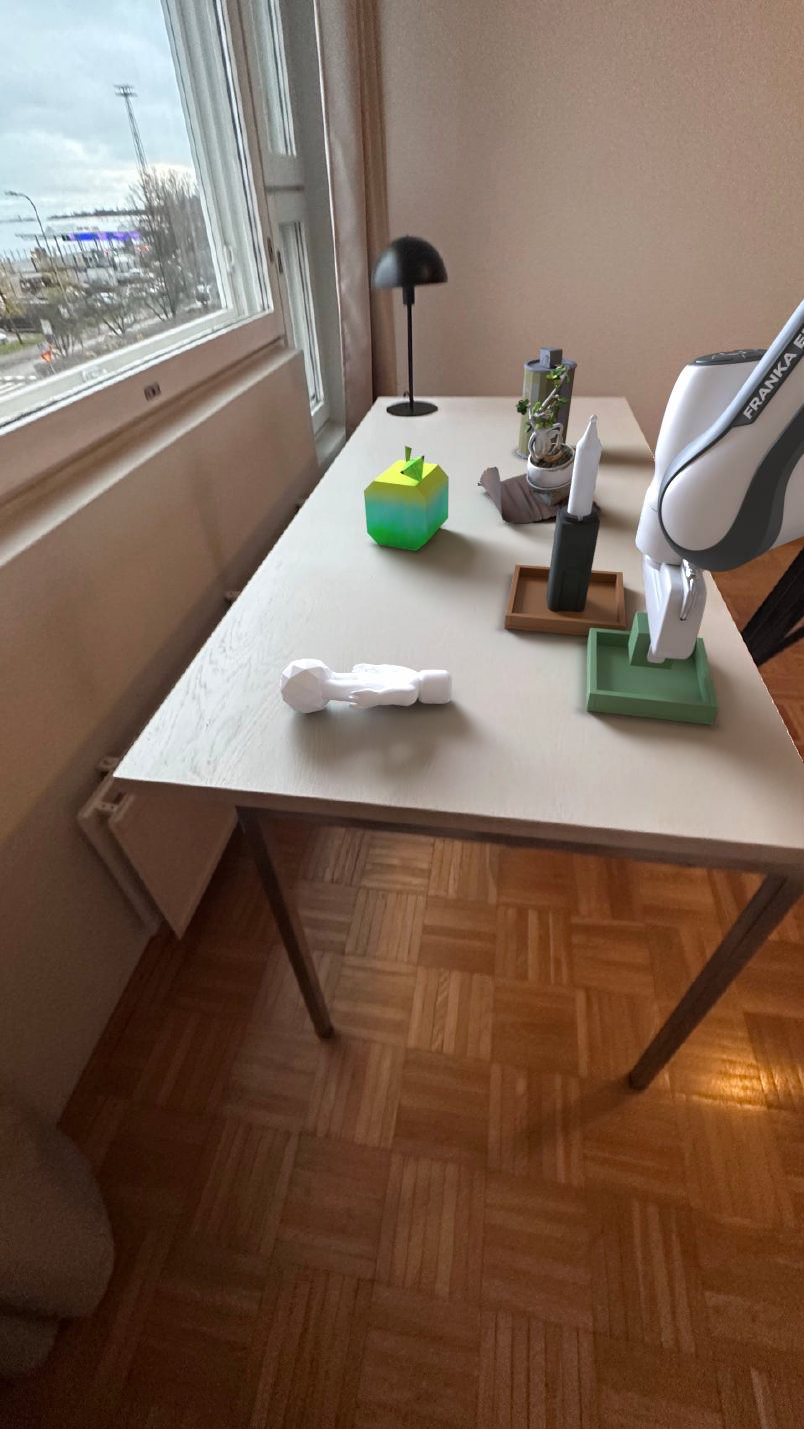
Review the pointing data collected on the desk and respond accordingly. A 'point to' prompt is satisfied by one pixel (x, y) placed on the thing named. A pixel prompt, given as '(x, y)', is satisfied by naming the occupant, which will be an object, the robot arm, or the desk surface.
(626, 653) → the green tray
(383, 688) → the figure
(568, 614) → the wood tray
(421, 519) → the low-poly cube fruit
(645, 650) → the green block
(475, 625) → the desk surface
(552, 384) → the canister
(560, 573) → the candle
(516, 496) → the potted plant
